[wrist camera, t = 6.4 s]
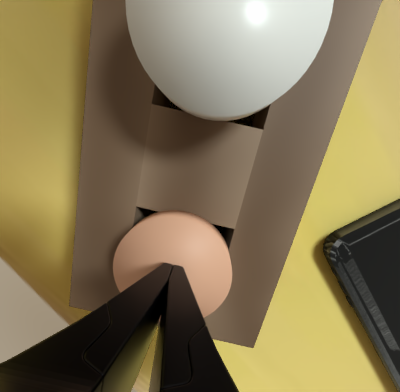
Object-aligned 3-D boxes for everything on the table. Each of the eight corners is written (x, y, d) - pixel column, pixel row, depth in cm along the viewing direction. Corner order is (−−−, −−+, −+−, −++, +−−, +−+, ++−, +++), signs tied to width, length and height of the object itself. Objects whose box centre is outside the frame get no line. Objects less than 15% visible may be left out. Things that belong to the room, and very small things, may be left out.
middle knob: (297, 11, 8) (371, -106, 4) (260, 140, 9) (293, 134, 6) (173, -19, 8) (141, -160, 4) (152, 115, 9) (114, 93, 6)
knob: (235, 206, 12) (246, 233, 8) (214, 281, 13) (216, 334, 9) (149, 186, 12) (120, 204, 8) (136, 263, 13) (106, 309, 9)
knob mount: (436, -274, 7) (587, -556, 4) (243, 304, 13) (253, 348, 10) (171, -336, 7) (144, -664, 4) (100, 271, 13) (69, 306, 10)
